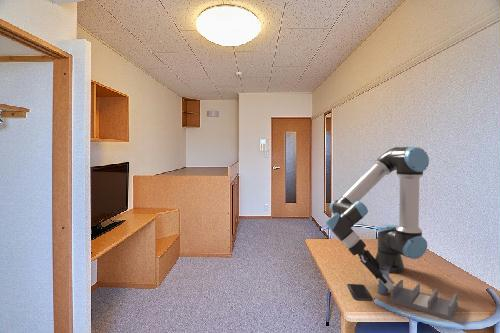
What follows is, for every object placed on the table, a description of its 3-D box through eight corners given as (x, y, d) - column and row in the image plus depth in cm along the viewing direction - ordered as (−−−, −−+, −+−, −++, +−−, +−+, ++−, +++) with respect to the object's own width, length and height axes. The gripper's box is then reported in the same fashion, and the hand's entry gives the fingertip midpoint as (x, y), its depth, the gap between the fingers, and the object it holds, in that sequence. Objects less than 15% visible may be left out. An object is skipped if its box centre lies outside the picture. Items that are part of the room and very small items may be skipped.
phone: (354, 298, 134) (346, 283, 149) (354, 300, 134) (346, 285, 149) (373, 299, 133) (364, 284, 148) (373, 302, 133) (364, 286, 148)
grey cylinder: (379, 290, 144) (381, 263, 144) (389, 292, 141) (390, 265, 141) (376, 292, 141) (378, 265, 140) (386, 295, 138) (388, 268, 138)
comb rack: (399, 290, 144) (400, 279, 144) (457, 306, 130) (458, 293, 130) (389, 301, 132) (389, 290, 132) (451, 320, 118) (452, 307, 118)
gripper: (350, 244, 155) (386, 284, 148) (344, 253, 139) (384, 299, 133) (362, 234, 152) (399, 275, 146) (357, 243, 137) (398, 289, 131)
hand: (391, 286), depth 140 cm, fingers closed on grey cylinder, 4 cm apart
